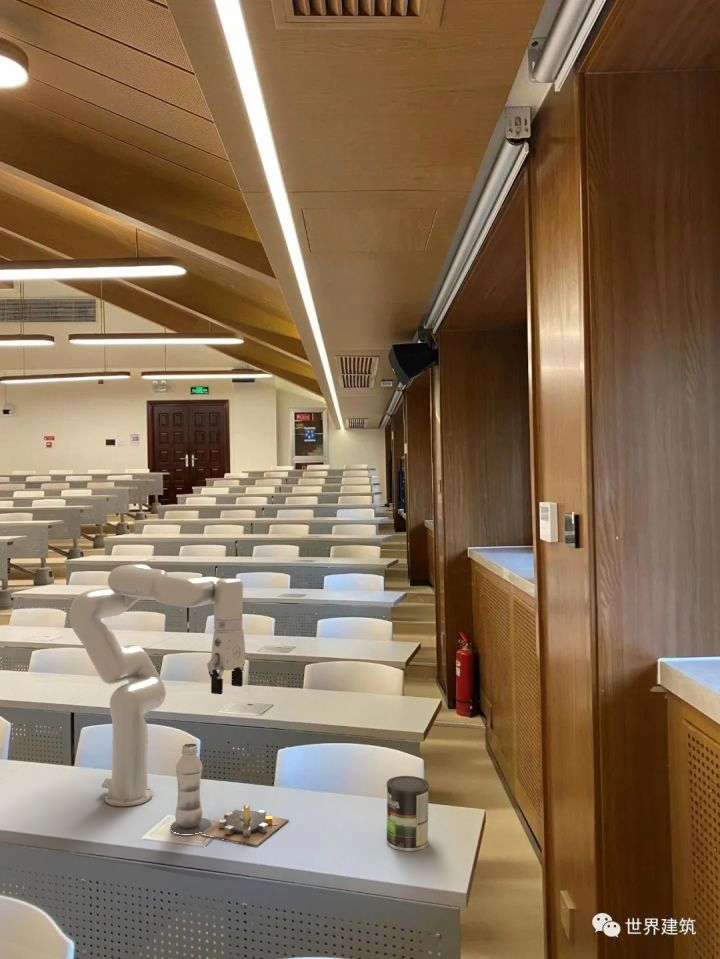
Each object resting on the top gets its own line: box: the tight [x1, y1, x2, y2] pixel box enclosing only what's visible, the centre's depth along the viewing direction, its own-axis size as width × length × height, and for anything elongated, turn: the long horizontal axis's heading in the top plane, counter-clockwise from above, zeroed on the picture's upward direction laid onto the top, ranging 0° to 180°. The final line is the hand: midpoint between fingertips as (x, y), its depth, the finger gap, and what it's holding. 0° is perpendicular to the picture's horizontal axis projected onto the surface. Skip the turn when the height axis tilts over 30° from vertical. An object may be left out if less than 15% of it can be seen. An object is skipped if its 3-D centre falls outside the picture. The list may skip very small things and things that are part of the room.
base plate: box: [200, 809, 290, 848], centre depth 186 cm, size 16×16×1 cm
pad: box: [170, 817, 212, 834], centre depth 186 cm, size 10×10×1 cm
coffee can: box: [385, 775, 430, 852], centre depth 179 cm, size 10×10×14 cm
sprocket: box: [218, 804, 273, 836], centre depth 186 cm, size 13×13×6 cm
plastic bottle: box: [174, 742, 203, 828], centre depth 186 cm, size 6×7×20 cm
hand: (227, 689), depth 197 cm, fingers open, 9 cm apart
